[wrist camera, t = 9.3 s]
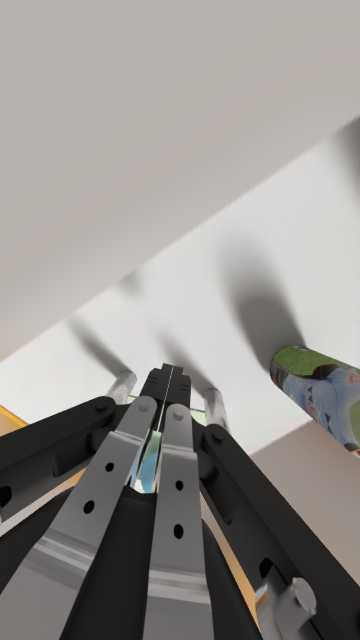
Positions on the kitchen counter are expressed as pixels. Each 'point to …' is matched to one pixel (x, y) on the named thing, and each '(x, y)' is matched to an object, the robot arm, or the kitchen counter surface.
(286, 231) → the kitchen counter surface
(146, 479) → the ball
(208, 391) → the post
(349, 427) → the beverage can
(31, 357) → the kitchen counter surface
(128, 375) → the post
